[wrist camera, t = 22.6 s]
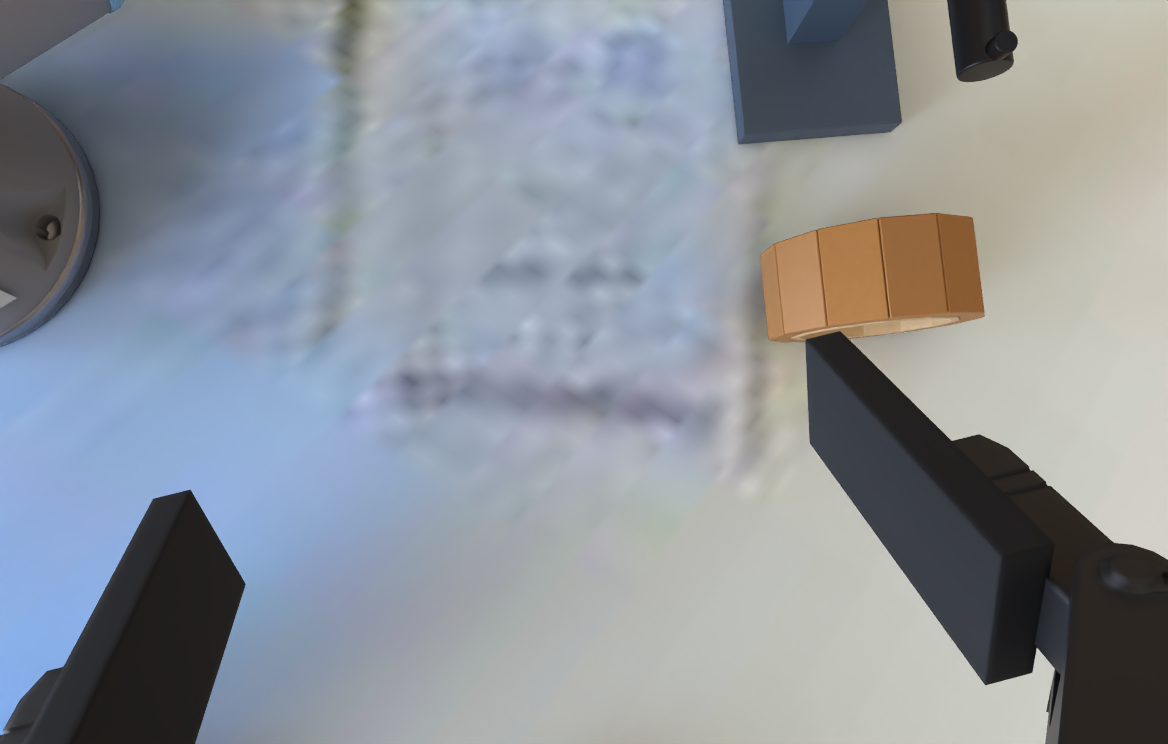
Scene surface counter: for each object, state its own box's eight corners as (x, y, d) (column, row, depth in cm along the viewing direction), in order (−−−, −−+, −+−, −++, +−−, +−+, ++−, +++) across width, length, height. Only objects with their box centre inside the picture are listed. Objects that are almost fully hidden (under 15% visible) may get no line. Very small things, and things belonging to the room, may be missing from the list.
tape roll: (751, 347, 43) (807, 326, 33) (743, 268, 43) (796, 222, 34) (923, 332, 44) (1030, 306, 34) (914, 253, 44) (1018, 204, 34)
